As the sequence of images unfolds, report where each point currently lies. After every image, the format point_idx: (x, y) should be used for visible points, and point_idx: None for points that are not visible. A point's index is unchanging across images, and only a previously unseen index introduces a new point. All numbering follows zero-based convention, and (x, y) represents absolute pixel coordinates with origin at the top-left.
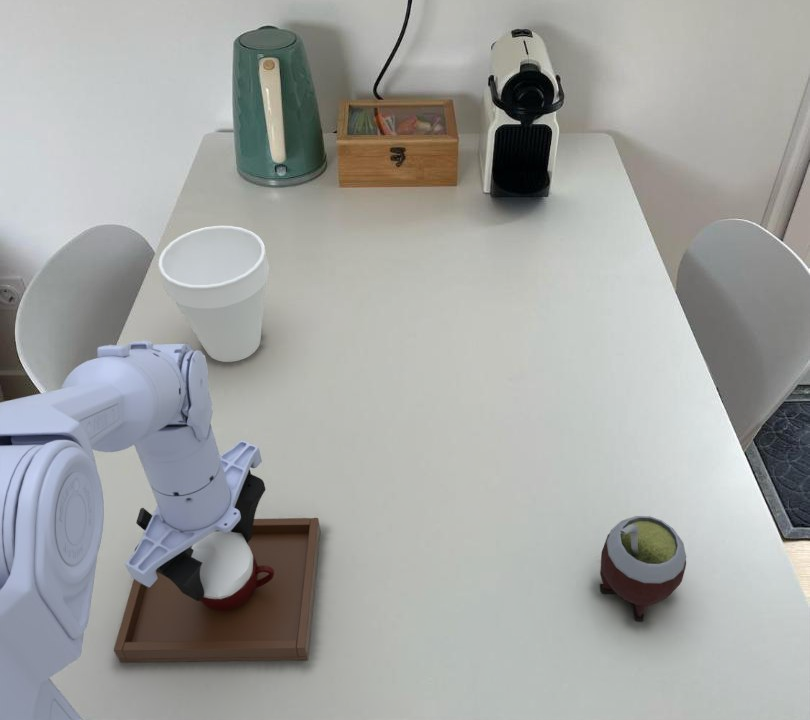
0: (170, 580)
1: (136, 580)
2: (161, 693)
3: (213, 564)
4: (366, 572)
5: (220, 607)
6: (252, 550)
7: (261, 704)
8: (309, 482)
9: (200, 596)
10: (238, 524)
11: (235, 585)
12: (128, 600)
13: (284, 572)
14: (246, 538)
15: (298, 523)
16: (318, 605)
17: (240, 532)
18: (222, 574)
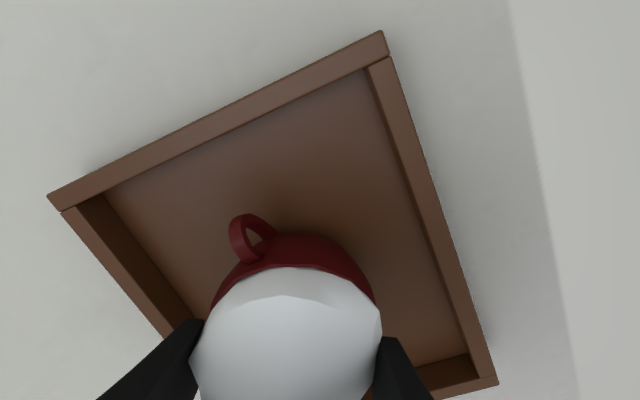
0: None
1: None
2: (518, 270)
3: (320, 388)
4: (101, 13)
5: (366, 278)
6: (206, 276)
7: (501, 85)
8: (13, 253)
9: (400, 351)
10: (168, 398)
11: (333, 293)
12: None
13: (213, 197)
14: (193, 337)
15: (90, 230)
16: (241, 86)
17: (187, 364)
18: (333, 349)
